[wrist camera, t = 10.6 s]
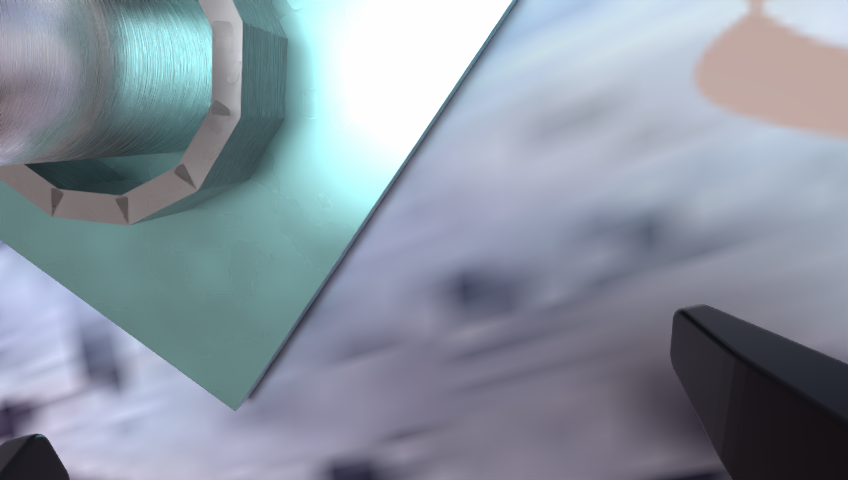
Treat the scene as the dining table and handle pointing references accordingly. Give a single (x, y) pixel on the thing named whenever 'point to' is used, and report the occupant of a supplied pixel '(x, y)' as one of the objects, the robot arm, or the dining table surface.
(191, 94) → the metal bottle
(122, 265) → the duct collar
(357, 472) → the dining table surface
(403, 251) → the dining table surface
